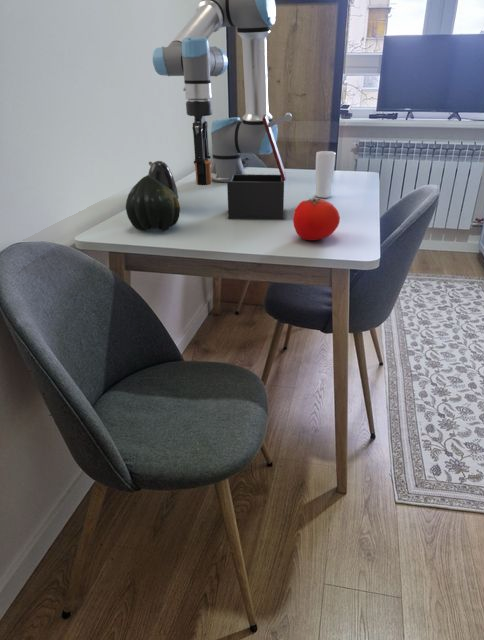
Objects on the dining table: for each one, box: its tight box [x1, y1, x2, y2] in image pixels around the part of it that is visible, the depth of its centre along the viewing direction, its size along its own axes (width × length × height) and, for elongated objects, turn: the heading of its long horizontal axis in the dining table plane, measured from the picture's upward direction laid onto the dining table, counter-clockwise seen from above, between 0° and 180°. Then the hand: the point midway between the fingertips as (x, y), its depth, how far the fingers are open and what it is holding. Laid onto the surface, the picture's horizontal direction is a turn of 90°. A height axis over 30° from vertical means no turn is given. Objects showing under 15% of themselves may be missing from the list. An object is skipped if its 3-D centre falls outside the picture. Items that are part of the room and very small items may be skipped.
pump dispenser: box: [147, 160, 179, 199], centre depth 152 cm, size 10×10×15 cm
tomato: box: [292, 197, 341, 241], centre depth 127 cm, size 13×12×11 cm
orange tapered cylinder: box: [193, 159, 213, 186], centre depth 149 cm, size 5×5×6 cm
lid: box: [262, 112, 293, 182], centre depth 141 cm, size 18×12×8 cm
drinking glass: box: [315, 150, 336, 199], centre depth 169 cm, size 7×7×15 cm
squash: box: [125, 174, 181, 232], centre depth 136 cm, size 14×15×15 cm
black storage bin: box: [226, 173, 285, 220], centre depth 149 cm, size 17×12×11 cm
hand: (203, 182), depth 151 cm, fingers closed on orange tapered cylinder, 5 cm apart
